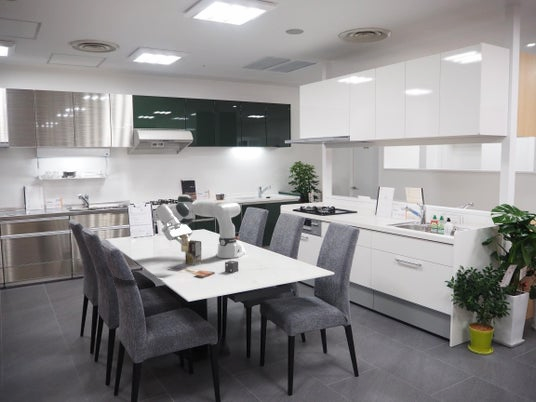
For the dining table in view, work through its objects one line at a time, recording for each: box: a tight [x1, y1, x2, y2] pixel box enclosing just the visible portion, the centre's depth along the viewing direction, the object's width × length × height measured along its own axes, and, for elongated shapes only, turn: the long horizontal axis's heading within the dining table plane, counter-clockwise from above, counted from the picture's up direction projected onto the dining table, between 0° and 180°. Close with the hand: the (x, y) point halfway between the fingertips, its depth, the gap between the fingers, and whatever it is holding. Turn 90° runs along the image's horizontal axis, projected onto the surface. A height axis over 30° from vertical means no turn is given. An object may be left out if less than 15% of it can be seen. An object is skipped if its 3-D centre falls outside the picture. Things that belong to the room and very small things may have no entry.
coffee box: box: [184, 239, 202, 266], centre depth 301 cm, size 9×6×16 cm
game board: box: [166, 265, 215, 279], centre depth 282 cm, size 12×30×1 cm, turn 61°
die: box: [224, 260, 239, 274], centre depth 286 cm, size 6×6×6 cm
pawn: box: [180, 234, 189, 253], centre depth 280 cm, size 4×4×11 cm
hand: (185, 242), depth 280 cm, fingers closed on pawn, 4 cm apart
